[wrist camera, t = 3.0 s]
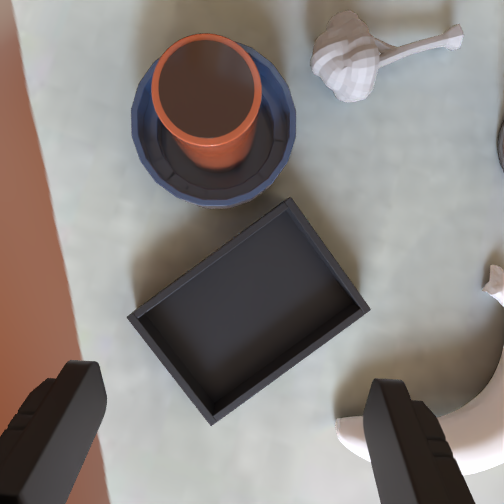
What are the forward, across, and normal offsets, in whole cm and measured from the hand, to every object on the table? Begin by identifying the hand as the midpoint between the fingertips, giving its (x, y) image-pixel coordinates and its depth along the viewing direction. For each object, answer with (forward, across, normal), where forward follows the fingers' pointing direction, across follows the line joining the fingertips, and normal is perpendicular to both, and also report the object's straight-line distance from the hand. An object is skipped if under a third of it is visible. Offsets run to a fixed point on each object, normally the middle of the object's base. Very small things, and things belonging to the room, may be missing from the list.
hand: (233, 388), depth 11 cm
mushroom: (+26, -9, -8) cm, 29 cm away
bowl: (+22, +3, -2) cm, 23 cm away
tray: (+16, 0, +10) cm, 19 cm away
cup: (+22, +3, -2) cm, 22 cm away
